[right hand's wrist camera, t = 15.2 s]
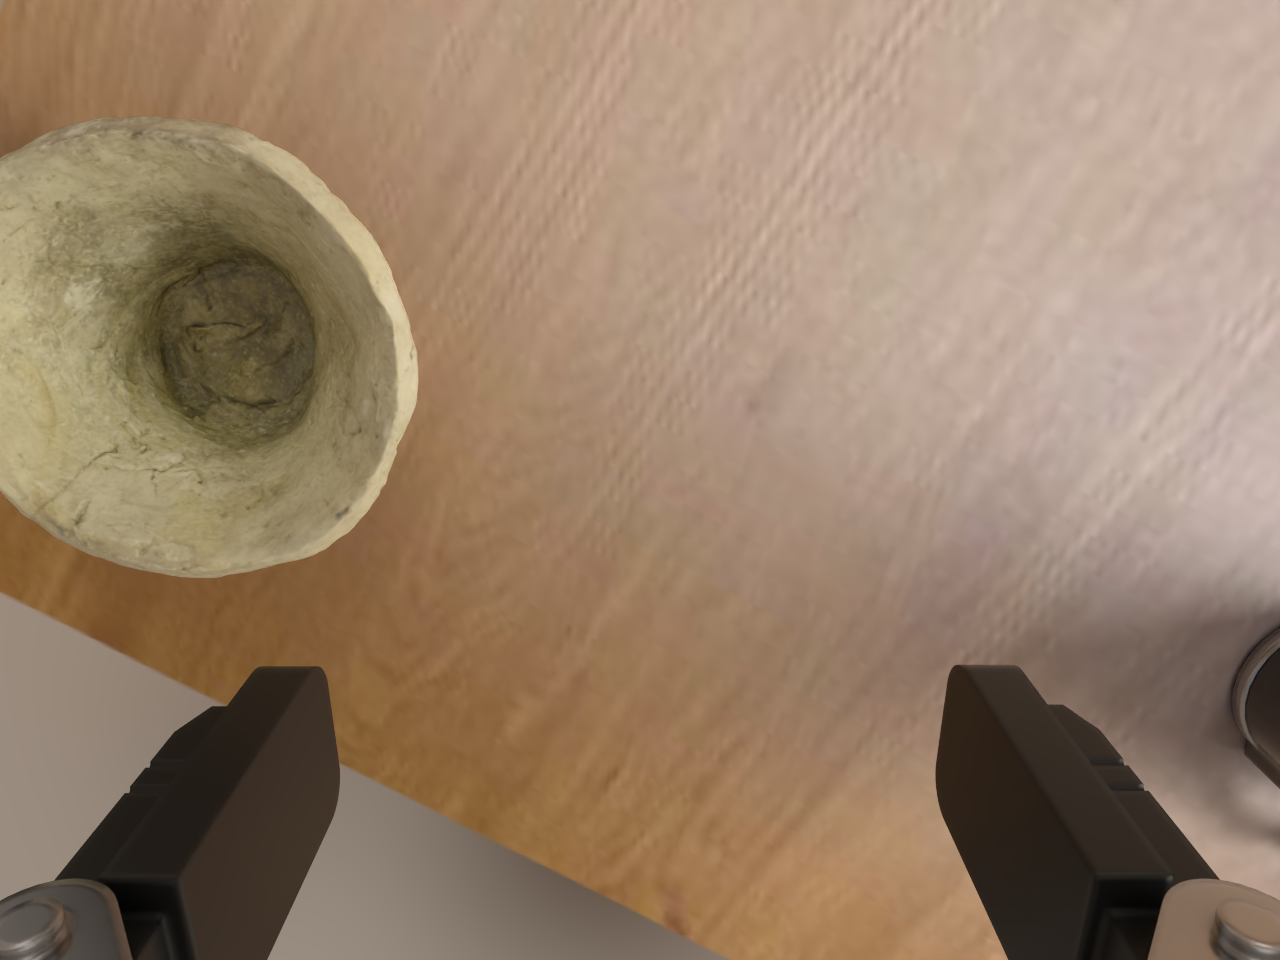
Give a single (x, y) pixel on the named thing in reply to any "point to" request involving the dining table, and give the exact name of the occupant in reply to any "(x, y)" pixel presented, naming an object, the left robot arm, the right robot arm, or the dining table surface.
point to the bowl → (192, 348)
